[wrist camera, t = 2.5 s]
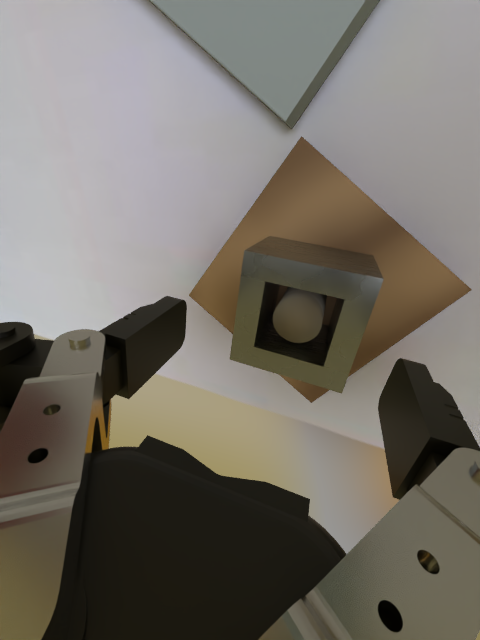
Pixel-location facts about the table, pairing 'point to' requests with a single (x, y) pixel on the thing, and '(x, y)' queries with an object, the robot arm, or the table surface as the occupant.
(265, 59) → the square plate
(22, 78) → the table surface
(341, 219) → the stand
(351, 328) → the recessed metal cube
